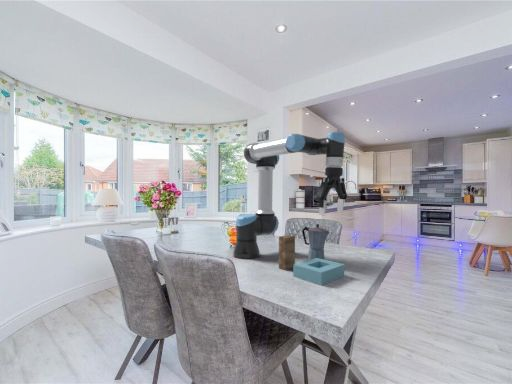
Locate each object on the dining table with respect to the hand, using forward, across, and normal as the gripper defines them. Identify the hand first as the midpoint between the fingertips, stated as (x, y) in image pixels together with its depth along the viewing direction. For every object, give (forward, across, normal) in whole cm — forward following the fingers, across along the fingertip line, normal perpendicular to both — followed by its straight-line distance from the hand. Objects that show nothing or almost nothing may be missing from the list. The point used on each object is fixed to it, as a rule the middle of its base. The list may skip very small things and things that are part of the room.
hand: (331, 213), depth 111 cm
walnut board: (+27, -13, +14) cm, 33 cm away
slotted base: (+26, -11, -3) cm, 28 cm away
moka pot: (+28, +4, +10) cm, 30 cm away
